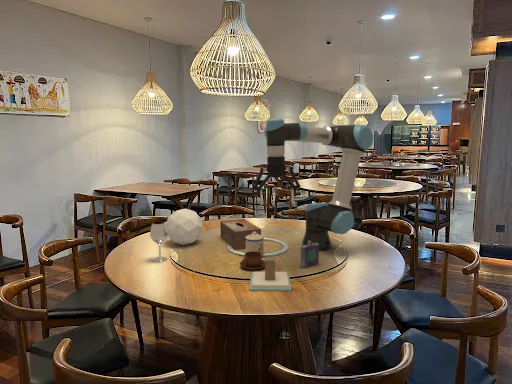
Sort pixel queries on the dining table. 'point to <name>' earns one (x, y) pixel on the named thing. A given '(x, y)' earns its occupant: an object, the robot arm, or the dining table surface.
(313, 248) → the flask
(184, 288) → the dining table surface
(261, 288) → the mat
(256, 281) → the lid
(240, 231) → the tissue box cover
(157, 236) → the wineglass
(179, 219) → the ball
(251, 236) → the teacup with lid
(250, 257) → the cup and saucer
